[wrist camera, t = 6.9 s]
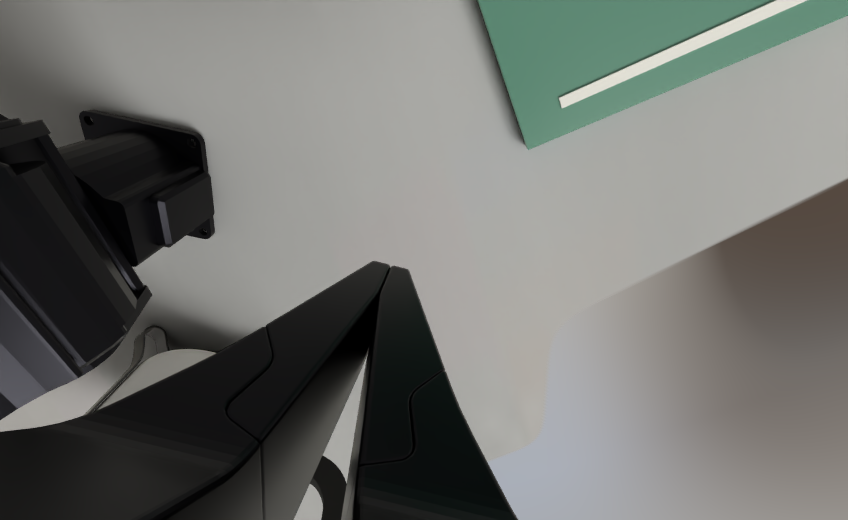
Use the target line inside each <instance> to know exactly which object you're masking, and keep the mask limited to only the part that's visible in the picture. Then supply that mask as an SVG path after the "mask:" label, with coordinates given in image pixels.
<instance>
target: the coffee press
mask: <svg viewBox="0 0 848 520" xmlns="http://www.w3.org/2000/svg"><path fill="white" fill-rule="evenodd" d="M145 335H150V336H152V337H153V338H154V339H155V341H156V347H157V353H158V354H157V355H155V356H152V357H150V358H148V359H147V360H145V361H144V362H142V363H141V364H140V365H139V366H138V367H137V368H136V369H135V370H134V371H133V372H132V373H131V374H130V375H129V376H128V374H129V373H130V372H131V371H132V370H133V369H134V368H135V367H136V366H137V365H138V363H139V362H140V361H141V359H142V357H143V353H144V347H145ZM214 354H216V353H215V352H210V351H205V350H197V349H179V350H171V351H170V350H169V347H168V342H167V335H166V332H165V331H164V330H163V329H162V328H161V327H158V326H150V327H148V328H147V329H145V330H144V331H143V332H142V333H141V334H139V335H138V336H137V337H136V339H135V342H134V354H133V360H132V363H131V366H130V367H129V369H128V370H127V371H126V372H125V373H124V374H123V375H122V376H121V378H120V379H119V380H118V381H117V382H116V383H115V384H114V385H113V386H112V387H111V388H110V389H109V390H108V391H107V392H106V393H105V394H104V395H103V396H102V397H101V398H100V399H99V400H98V401H97V402H96V403H95V404H94V405H93V406H92V407H91V408H90V409H89V410H88V411H87V412H86V413H85V414H84V415H86V414H89V413H92V412H94V411H97V410H99V409H101V408H103V407H106V406H108V405H110V404H112V403H114V402H116V401H119V400H121V399H123V398H125V397H127V396H129V395H131V394H133V393H135V392H137V391H139V390H142V389H144V388H146V387H148V386H150V385H152V384H154V383H156V382H158V381H160V380H162V379H165V378H167V377H169V376H171V375H173V374H175V373H177V372H179V371H181V370H183V369H185V368H188V367H190V366H192V365H194V364H196V363H198V362H200V361H202V360H204V359H206V358H208V357H210V356H212V355H214ZM127 376H128V377H127ZM126 377H127V378H126ZM125 378H126V379H125ZM124 379H125V380H124ZM123 380H124V381H123ZM122 381H123V382H122ZM121 382H122V383H121ZM120 383H121V384H120ZM119 384H120V385H119ZM118 385H119V386H118ZM117 386H118V387H117ZM116 387H117V388H116ZM115 388H116V389H115ZM114 389H115V390H114ZM113 390H114V391H113ZM112 391H113V392H112ZM111 392H112V393H111ZM110 393H111V394H110ZM109 394H110V395H109ZM108 395H109V396H108ZM107 396H108V397H107ZM106 397H107V398H106ZM105 398H106V399H105ZM104 399H105V400H104ZM103 400H104V401H103ZM102 401H103V402H102ZM101 402H102V403H101ZM100 403H101V404H100ZM99 404H100V405H99ZM310 484H311V485H313V486H314V487H315V488H316V489H317V491H318V492H319V494H320V496H321V499H322V502H323V513H322V519H321V520H341V517H342V511H343V504H344V498H345V492H346V486H347V484H346V481H345V478H344V476H343V474H342V473H341V471H340V470H339V468H338V467H337V466H336V465H335V464H334V463H333V462H332V461H331V460H329V459H327V458H326V457H324V456H322V457H321V460H320V462H319V464H318V466H317V468H316V471H315V473H314V475H313V477H312V480H311V482H310Z"/></svg>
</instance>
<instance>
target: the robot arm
mask: <svg viewBox="0 0 848 520" xmlns="http://www.w3.org/2000/svg"><path fill="white" fill-rule="evenodd" d="M90 117H91V118H92V119H93V121H94V123H93V122H92V121H91V119H90ZM79 119H80V122H81V126H82V130H83V133H84V137H85V140H84V141H81V142H77V143H74V144H70V145H67V146H63V147H60V148H56V146H55V145H54V143H53V142H52V140H51V138H50V137H49V135H48V134H50V131H49V130H48V128H47V127H46V125H45V124H44V122H43V120H38V121H32V122H26V123H22V122H21V121H20V119H19V118H17V119H8V118H6V117H4V116H3V115H1V114H0V420H1V419H3V418H4V417H6V416H7V415H9V414H10V413H12V412H13V411H15V410H16V409H18V408H20V407H22V406H23V405H25V404H27V403H29V402H30V401H32V400H34V399H36V398H38V397H39V396H41V395H43V394H45V393H47V392H49V391H51V390H53V389H55V388H57V387H60V386H62V385H64V384H67V383H69V382H71V381H73V380H75V379H77V378H79V377H81V376H82V375H84V374H86V373H87V372H89V371H91V370H92V369H94V368H95V367H97V366H98V365H99V364H101V363H102V362H103V361H105V360H106V359H107V358H108V357H109V356H110V355H111V354H112V353H113V352H114V351H115V350H116V349H117V348H118V346H119V345H120V343H121V342H122V340H123V339H124V337H125V336H126V334H127V333H128V331H129V330H130V328H131V327H132V325H133V324H134V322H135V320H136V319H137V317H138V316H139V314H140V313H141V311H142V310H143V308H144V307H145V305H146V304H147V302H148V301H149V299H150V297H151V296H152V293H151V292H150V290H149V289H148V287H147V286H146V285H143V283H142V282H141V280H140V279H139V277H138V276H137V274H136V272H135V271H134V269H133V268H132V266H133V267H136V266H137V265H139V264H140V263H142V262H143V261H144V260H146V259H147V258H148V257H150V256H151V255H153V254H154V253H155V252H157V251H158V250H160V249H161V248H162V247H171V246H172V245H173V244H175V243H176V242H177V241H179V240H180V239H182V238H183V237H184V236H186V235H188V236H193V237H197V238H202V239H208V238H210V237H211V236H213V234H214V233H215V228H214V219H213V215H214V205H213V196H212V186H211V177H210V175H209V173H208V166H207V157H206V148H205V142H204V139H203V138H202V136H201V135H199V134H198V133H196V132H192V131H187V130H182V129H178V128H173V127H169V126H164V125H159V124H155V123H150V122H146V121H141V120H136V119H132V118H127V117H123V116H118V115H114V114H109V113H104V112H100V111H95V110H86V111H82V112H81V113H80V115H79ZM191 139H193V140H194V141H195V142H196V146H195V145H194V144H193V143H192V141H191ZM203 229H205V230H206V231H207V232H205V231H204V230H203ZM367 354H368V356H367ZM366 357H367V361H366V366H365V373H364V379H363V385H362V391H361V398H360V404H359V410H358V417H357V423H356V429H355V435H354V442H353V448H352V454H351V460H350V467H349V473H348V479H347V486H346V492H345V498H344V504H343V511H342V517H341V520H518V519H517V517H516V515H515V514H514V512H513V510H512V509H511V507H510V505H509V503H508V501H507V499H506V497H505V495H504V493H503V492H502V490H501V488H500V486H499V484H498V482H497V480H496V478H495V476H494V474H493V472H492V470H491V469H490V467H489V465H488V463H487V461H486V459H485V457H484V455H483V453H482V451H481V449H480V447H479V445H478V443H477V442H476V440H475V438H474V436H473V434H472V432H471V430H470V428H469V426H468V424H467V421H466V419H465V417H464V415H463V413H462V411H461V409H460V407H459V404H458V402H457V399H456V397H455V394H454V392H453V389H452V387H451V384H450V381H449V379H448V376H447V373H446V372H445V368H444V365H443V363H442V360H441V357H440V354H439V352H438V349H437V346H436V343H435V341H434V338H433V335H432V332H431V330H430V327H429V324H428V322H427V319H426V316H425V313H424V311H423V308H422V305H421V302H420V300H419V297H418V294H417V291H416V289H415V286H414V283H413V280H412V278H411V275H410V272H409V270H408V269H405V268H401V267H397V266H392V267H391V268H390V266H389V265H388V264H385V263H381V262H377V261H372V262H370V263H369V264H367V265H365V266H364V267H362V268H360V269H359V270H357V271H355V272H354V273H352V274H350V275H349V276H347V277H345V278H344V279H342V280H340V281H339V282H337V283H335V284H334V285H332V286H330V287H329V288H327V289H325V290H324V291H322V292H320V293H319V294H317V295H315V296H314V297H312V298H310V299H309V300H307V301H305V302H304V303H302V304H300V305H299V306H297V307H295V308H294V309H292V310H290V311H289V312H287V313H285V314H284V315H282V316H280V317H279V318H277V319H275V320H274V321H272V322H270V323H269V324H267V325H266V327H262V328H260V329H258V330H257V331H255V332H253V333H252V334H250V335H248V336H247V337H245V338H243V339H241V340H239V341H238V342H236V343H234V344H232V345H231V346H229V347H227V348H225V349H223V350H222V351H220V352H218V353H216V354H214V355H212V356H210V357H208V358H206V359H204V360H202V361H200V362H198V363H196V364H194V365H192V366H190V367H188V368H185V369H183V370H181V371H179V372H177V373H175V374H173V375H171V376H169V377H167V378H165V379H162V380H160V381H158V382H156V383H154V384H152V385H150V386H148V387H146V388H144V389H142V390H139V391H137V392H135V393H133V394H131V395H129V396H127V397H125V398H123V399H121V400H119V401H116V402H114V403H112V404H110V405H108V406H106V407H103V408H101V409H99V410H97V411H94V412H92V413H89V414H86V415H83V416H81V417H78V418H75V419H72V420H68V421H65V422H61V423H57V424H53V425H48V426H43V427H37V428H30V429H21V430H13V431H4V432H0V520H294V517H295V515H296V513H297V511H298V508H299V506H300V504H301V502H302V500H303V497H304V495H305V493H306V491H307V488H308V486H309V484H310V482H311V480H312V477H313V475H314V473H315V471H316V468H317V466H318V464H319V462H320V460H321V457H322V455H323V453H324V451H325V448H326V446H327V444H328V442H329V440H330V437H331V435H332V433H333V431H334V428H335V426H336V424H337V422H338V420H339V417H340V415H341V413H342V411H343V409H344V406H345V404H346V402H347V400H348V397H349V395H350V393H351V391H352V389H353V386H354V384H355V382H356V380H357V377H358V375H359V373H360V371H361V369H362V366H363V364H364V361H365V359H366Z"/></svg>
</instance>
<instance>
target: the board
mask: <svg viewBox="0 0 848 520" xmlns="http://www.w3.org/2000/svg"><path fill="white" fill-rule="evenodd" d="M477 2H478V5H479V8H480V11H481V14H482V17H483V20H484V23H485V26H486V29H487V32H488V35H489V38H490V41H491V44H492V47H493V50H494V53H495V56H496V59H497V62H498V65H499V68H500V71H501V74H502V77H503V80H504V83H505V86H506V89H507V92H508V95H509V98H510V101H511V104H512V107H513V110H514V113H515V116H516V119H517V121H518V124H519V127H520V130H521V133H522V136H523V139H524V142H525V145H526V147H527V149H528V150H529V149H532V148H534V147H536V146H539V145H541V144H543V143H546V142H548V141H551V140H553V139H555V138H558V137H560V136H562V135H565V134H567V133H570V132H572V131H574V130H577V129H579V128H582V127H584V126H586V125H589V124H591V123H593V122H596V121H598V120H601V119H603V118H605V117H608V116H610V115H612V114H615V113H617V112H620V111H622V110H624V109H627V108H629V107H631V106H634V105H636V104H639V103H641V102H643V101H646V100H648V99H650V98H653V97H655V96H658V95H660V94H662V93H665V92H667V91H669V90H672V89H674V88H677V87H679V86H681V85H684V84H686V83H689V82H691V81H693V80H696V79H698V78H700V77H703V76H705V75H708V74H710V73H712V72H715V71H717V70H719V69H722V68H724V67H727V66H729V65H731V64H734V63H736V62H738V61H741V60H743V59H746V58H748V57H750V56H753V55H755V54H757V53H760V52H762V51H765V50H767V49H769V48H772V47H774V46H777V45H779V44H781V43H784V42H786V41H788V40H791V39H793V38H796V37H798V36H800V35H803V34H805V33H807V32H810V31H812V30H815V29H817V28H819V27H822V26H824V25H826V24H829V23H831V22H834V21H836V20H838V19H841V18H843V17H845V16H848V0H477Z"/></svg>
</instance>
